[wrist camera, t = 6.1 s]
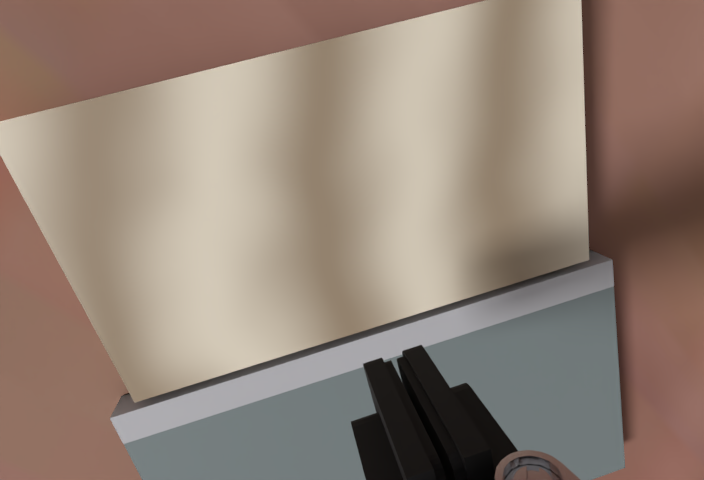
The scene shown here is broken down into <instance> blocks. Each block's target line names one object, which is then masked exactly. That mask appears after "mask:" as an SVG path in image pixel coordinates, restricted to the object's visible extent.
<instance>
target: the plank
mask: <svg viewBox="0 0 704 480" xmlns="http://www.w3.org/2000/svg"><path fill="white" fill-rule="evenodd" d="M0 155H1V157H2V159H3V161H4V163H5V164H6V166H7V168H8V170H9V172H10V174H11V176H12V177H13V179H14V181H15V183H16V185H17V187H18V188H19V190H20V192H21V194H22V196H23V198H24V200H25V201H26V203H27V205H28V207H29V209H30V211H31V212H32V214H33V216H34V218H35V220H36V222H37V224H38V225H39V227H40V229H41V231H42V233H43V235H44V236H45V238H46V240H47V242H48V244H49V246H50V248H51V249H52V251H53V253H54V255H55V257H56V259H57V260H58V262H59V264H60V266H61V268H62V270H63V272H64V273H65V275H66V277H67V279H68V281H69V283H70V284H71V286H72V288H73V290H74V292H75V294H76V296H77V297H78V299H79V301H80V303H81V305H82V307H83V308H84V310H85V312H86V314H87V316H88V318H89V320H90V321H91V323H92V325H93V327H94V329H95V331H96V332H97V334H98V336H99V338H100V340H101V342H102V344H103V345H104V347H105V349H106V351H107V353H108V355H109V356H110V358H111V360H112V362H113V364H114V366H115V368H116V369H117V371H118V373H119V375H120V377H121V379H122V380H123V382H124V384H125V386H126V388H127V390H128V392H129V393H130V395H131V397H132V399H133V401H134V403H136V402H139V401H142V400H145V399H148V398H151V397H155V396H158V395H161V394H164V393H167V392H171V391H174V390H177V389H180V388H183V387H186V386H190V385H193V384H196V383H199V382H202V381H206V380H209V379H212V378H215V377H218V376H221V375H225V374H228V373H231V372H234V371H237V370H241V369H244V368H247V367H250V366H253V365H256V364H260V363H263V362H266V361H269V360H272V359H276V358H279V357H282V356H285V355H288V354H291V353H295V352H298V351H301V350H304V349H307V348H311V347H314V346H317V345H320V344H323V343H326V342H330V341H333V340H336V339H339V338H342V337H346V336H349V335H352V334H355V333H358V332H362V331H365V330H368V329H371V328H374V327H377V326H381V325H384V324H387V323H390V322H393V321H397V320H400V319H403V318H406V317H409V316H412V315H416V314H419V313H422V312H425V311H428V310H432V309H435V308H438V307H441V306H444V305H447V304H451V303H454V302H457V301H460V300H463V299H467V298H470V297H473V296H476V295H479V294H482V293H486V292H489V291H492V290H495V289H498V288H502V287H505V286H508V285H511V284H514V283H517V282H521V281H524V280H527V279H530V278H533V277H537V276H540V275H543V274H546V273H549V272H552V271H556V270H559V269H562V268H565V267H568V266H572V265H575V264H578V263H581V262H584V261H587V260H589V234H588V202H587V169H586V137H585V104H584V72H583V39H582V7H581V0H486V1H482V2H478V3H474V4H470V5H466V6H462V7H458V8H454V9H450V10H446V11H442V12H438V13H434V14H430V15H426V16H422V17H418V18H414V19H410V20H406V21H402V22H398V23H393V24H389V25H385V26H381V27H377V28H373V29H369V30H365V31H361V32H357V33H353V34H349V35H345V36H341V37H337V38H333V39H329V40H325V41H321V42H317V43H313V44H309V45H305V46H301V47H297V48H293V49H289V50H285V51H281V52H277V53H273V54H269V55H265V56H261V57H257V58H253V59H249V60H245V61H241V62H237V63H233V64H229V65H225V66H221V67H217V68H213V69H209V70H205V71H201V72H197V73H193V74H189V75H185V76H181V77H177V78H173V79H169V80H165V81H161V82H157V83H153V84H149V85H145V86H141V87H137V88H133V89H129V90H125V91H121V92H117V93H113V94H109V95H105V96H101V97H97V98H93V99H89V100H85V101H81V102H77V103H73V104H69V105H65V106H61V107H57V108H53V109H49V110H45V111H41V112H37V113H33V114H29V115H25V116H21V117H17V118H13V119H9V120H5V121H1V122H0Z"/></svg>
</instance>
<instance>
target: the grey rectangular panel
mask: <svg viewBox="0 0 704 480" xmlns="http://www.w3.org/2000/svg"><path fill="white" fill-rule="evenodd" d="M419 345H422V346H423V347H424V349H425V350H426V352H427V353H428V355H429V356H430V358H431V359H432V361H433V362H434V364H435V365H436V367H437V368H438V370H439V372H440V373H441V375H442V376H443V378H444V379H445V381H446V382H447V384H448V385H449V387H450V388H451V387H454V386H457V385H460V384H463V383H467V384H469V385H470V387H471V388H472V389H473V390H474V392H475V393H476V395H477V396H478V397H479V399H480V400H481V401H482V403H483V404H484V405H485V407H486V408H487V409H488V411H489V412H490V413H491V415H492V416H493V418H494V419H495V420H496V422H497V423H498V424H499V426H500V427H501V428H502V430H503V431H504V432H505V434H506V435H507V436H508V438H509V439H510V441H511V442H512V443H513V445H514V446H515V447H516V449H517V450H518V451H523V450H533V451H540V452H543V453H546V454H548V455H551V456H553V457H554V458H556V459H557V460H559V461H560V462H562V463H563V464H564V465H565V466H566V467H567V468H568V469H569V470H570V471H571V472H573V473H574V474H575V475H576V476H577V477H578V478H579V479H580V480H592V479H595V478H598V477H600V476H603V475H606V474H609V473H611V472H614V471H617V470H620V469H622V468H625V459H624V443H623V427H622V411H621V394H620V378H619V362H618V346H617V330H616V314H615V298H614V276H613V260H612V259H610V258H608V257H605V256H603V255H601V254H599V253H596V252H594V251H592V250H589V260H587V261H584V262H581V263H578V264H575V265H572V266H568V267H565V268H562V269H559V270H556V271H552V272H549V273H546V274H543V275H540V276H537V277H533V278H530V279H527V280H524V281H521V282H517V283H514V284H511V285H508V286H505V287H502V288H498V289H495V290H492V291H489V292H486V293H482V294H479V295H476V296H473V297H470V298H467V299H463V300H460V301H457V302H454V303H451V304H447V305H444V306H441V307H438V308H435V309H432V310H428V311H425V312H422V313H419V314H416V315H412V316H409V317H406V318H403V319H400V320H397V321H393V322H390V323H387V324H384V325H381V326H377V327H374V328H371V329H368V330H365V331H362V332H358V333H355V334H352V335H349V336H346V337H342V338H339V339H336V340H333V341H330V342H326V343H323V344H320V345H317V346H314V347H311V348H307V349H304V350H301V351H298V352H295V353H291V354H288V355H285V356H282V357H279V358H276V359H272V360H269V361H266V362H263V363H260V364H256V365H253V366H250V367H247V368H244V369H241V370H237V371H234V372H231V373H228V374H225V375H221V376H218V377H215V378H212V379H209V380H206V381H202V382H199V383H196V384H193V385H190V386H186V387H183V388H180V389H177V390H174V391H171V392H167V393H164V394H161V395H158V396H155V397H151V398H148V399H145V400H142V401H139V402H136V403H134V401H133V399H132V397H131V395H130V393H129V394H126V395H123V396H121V398H120V400H119V402H118V404H117V406H116V408H115V410H114V412H113V414H112V415H111V417H110V419H111V421H112V423H113V425H114V427H115V429H116V431H117V433H118V435H119V437H120V438H121V440H122V442H123V444H124V445H125V447H126V449H127V451H128V453H129V455H130V457H131V459H132V461H133V463H134V465H135V467H136V469H137V471H138V472H139V474H140V476H141V478H142V480H366V479H365V475H364V471H363V467H362V463H361V460H360V456H359V452H358V448H357V444H356V441H355V437H354V433H353V429H352V425H351V421H354V420H357V419H360V418H363V417H366V416H369V415H371V414H374V413H376V410H375V406H374V403H373V399H372V395H371V392H370V388H369V385H368V381H367V378H366V374H365V370H364V367H363V363H366V362H369V361H373V360H376V359H379V358H382V359H383V361H384V362H387V361H390V360H391V361H392V363H393V365H394V367H395V369H396V371H397V373H398V375H399V377H400V379H401V376H400V372H399V368H398V364H397V358H399V357H402V356H403V355H402V351H403V350H406V349H409V348H413V347H416V346H419ZM401 381H402V380H401Z"/></svg>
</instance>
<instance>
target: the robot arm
mask: <svg viewBox="0 0 704 480" xmlns="http://www.w3.org/2000/svg"><path fill="white" fill-rule="evenodd" d="M402 355H403V356H402V357H399V358H397V364H398V368H399V372H400V376H401V379H400V377H399V375H398V373H397V371H396V369H395V367H394V365H393V363H392V361H391V360H390V361H387V362H384V361H383V359H382V358H379V359H376V360H373V361H369V362H366V363H363V367H364V370H365V374H366V378H367V381H368V385H369V388H370V392H371V395H372V399H373V403H374V406H375V410H376V413H374V414H371V415H369V416H366V417H363V418H360V419H357V420H354V421H351V425H352V429H353V433H354V437H355V441H356V444H357V448H358V452H359V456H360V460H361V463H362V467H363V471H364V475H365V479H366V480H580V479H579V478H578V477H577V476H576V475H575V474H574V473H573V472H571V471H570V470H569V469H568V468H567V467H566V466H565V465H564V464H563V463H562V462H560V461H559V460H557V459H556V458H554V457H553V456H551V455H548V454H546V453H543V452H540V451H533V450H523V451H518V450H517V449H516V447H515V446H514V445H513V443H512V442H511V441H510V439H509V438H508V436H507V435H506V434H505V432H504V431H503V430H502V428H501V427H500V426H499V424H498V423H497V422H496V420H495V419H494V418H493V416H492V415H491V413H490V412H489V411H488V409H487V408H486V407H485V405H484V404H483V403H482V401H481V400H480V399H479V397H478V396H477V395H476V393H475V392H474V390H473V389H472V388H471V387H470V385H469V384H467V383H463V384H460V385H457V386H454V387H451V388H450V387H449V385H448V384H447V382H446V381H445V379H444V378H443V376H442V375H441V373H440V372H439V370H438V368H437V367H436V365H435V364H434V362H433V361H432V359H431V358H430V356H429V355H428V353H427V352H426V350H425V349H424V347H423V346H422V345H419V346H416V347H413V348H409V349H406V350H403V351H402ZM401 380H402V381H401Z"/></svg>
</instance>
